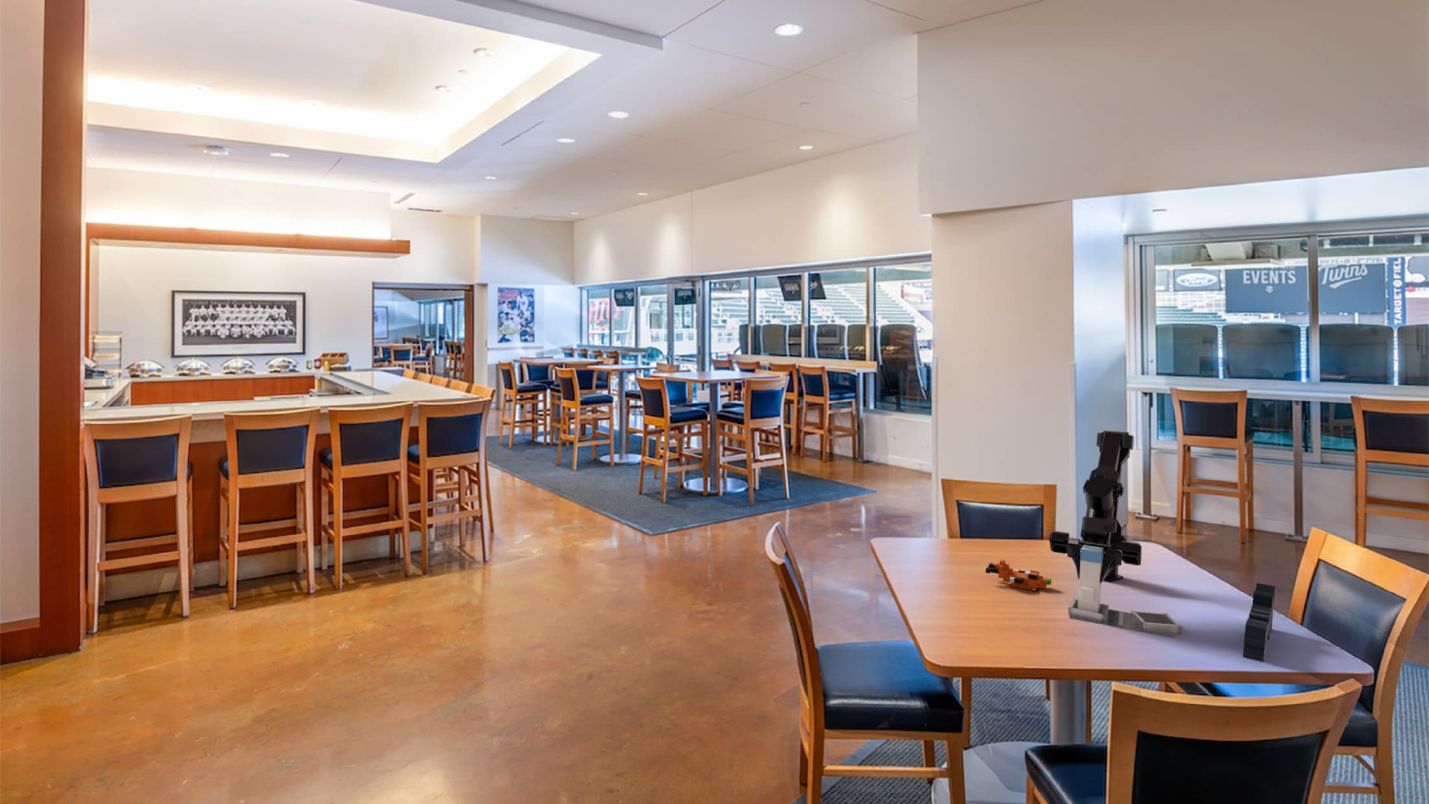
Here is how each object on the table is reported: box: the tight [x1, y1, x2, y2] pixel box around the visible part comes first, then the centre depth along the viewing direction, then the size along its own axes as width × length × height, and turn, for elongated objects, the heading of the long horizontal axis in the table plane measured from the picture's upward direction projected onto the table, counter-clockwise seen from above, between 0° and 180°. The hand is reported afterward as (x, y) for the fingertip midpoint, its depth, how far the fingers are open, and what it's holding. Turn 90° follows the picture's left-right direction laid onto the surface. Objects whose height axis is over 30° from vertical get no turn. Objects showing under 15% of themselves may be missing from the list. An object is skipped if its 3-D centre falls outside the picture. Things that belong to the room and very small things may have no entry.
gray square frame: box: [1130, 610, 1182, 635], centre depth 159 cm, size 7×7×2 cm
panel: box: [1069, 607, 1176, 639], centre depth 162 cm, size 20×11×1 cm, turn 60°
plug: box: [1077, 545, 1104, 613], centre depth 164 cm, size 5×4×14 cm
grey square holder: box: [1067, 598, 1110, 622], centre depth 166 cm, size 7×7×2 cm
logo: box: [1242, 582, 1276, 662], centre depth 151 cm, size 24×3×10 cm, turn 139°
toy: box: [985, 558, 1052, 591], centre depth 185 cm, size 8×6×15 cm
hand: (1089, 579), depth 164 cm, fingers closed on plug, 4 cm apart
